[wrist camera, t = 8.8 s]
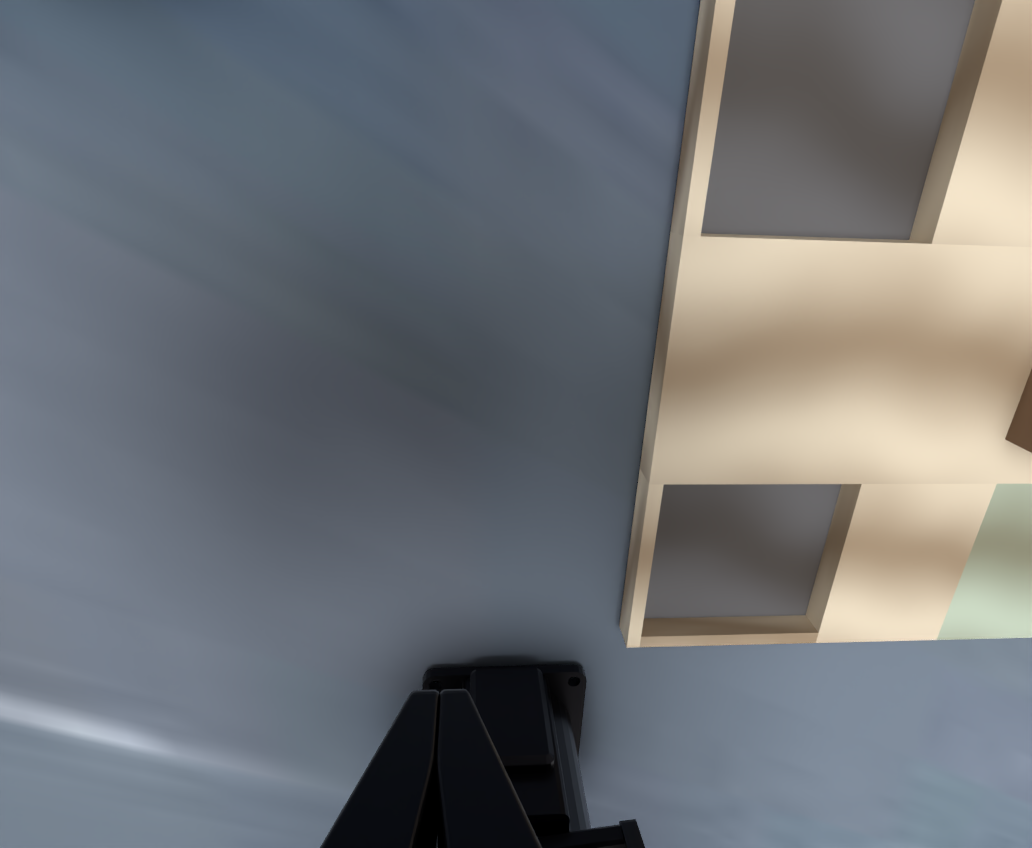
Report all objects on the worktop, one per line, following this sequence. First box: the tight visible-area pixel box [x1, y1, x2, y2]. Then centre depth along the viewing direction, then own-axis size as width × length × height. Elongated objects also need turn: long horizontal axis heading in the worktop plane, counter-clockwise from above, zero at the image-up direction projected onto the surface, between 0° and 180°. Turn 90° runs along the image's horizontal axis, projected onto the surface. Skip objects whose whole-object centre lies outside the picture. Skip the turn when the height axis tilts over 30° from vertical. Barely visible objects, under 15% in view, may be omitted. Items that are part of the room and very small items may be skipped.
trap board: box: [619, 0, 1032, 648], centre depth 20 cm, size 22×19×3 cm
